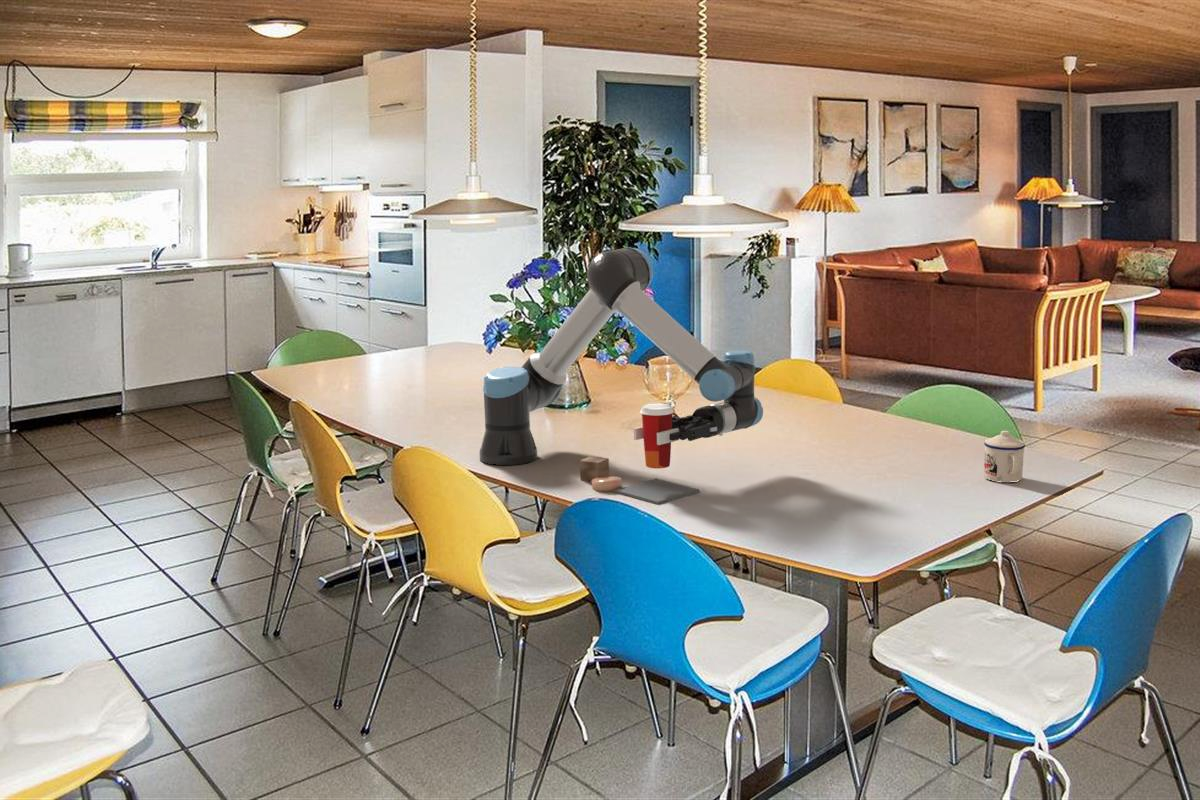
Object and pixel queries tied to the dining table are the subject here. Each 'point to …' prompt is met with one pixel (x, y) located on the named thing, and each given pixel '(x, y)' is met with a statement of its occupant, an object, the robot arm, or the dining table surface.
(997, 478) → the teacup with lid
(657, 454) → the paper cup
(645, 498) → the mat
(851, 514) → the dining table surface
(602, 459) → the walnut block
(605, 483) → the tan rounded disc
